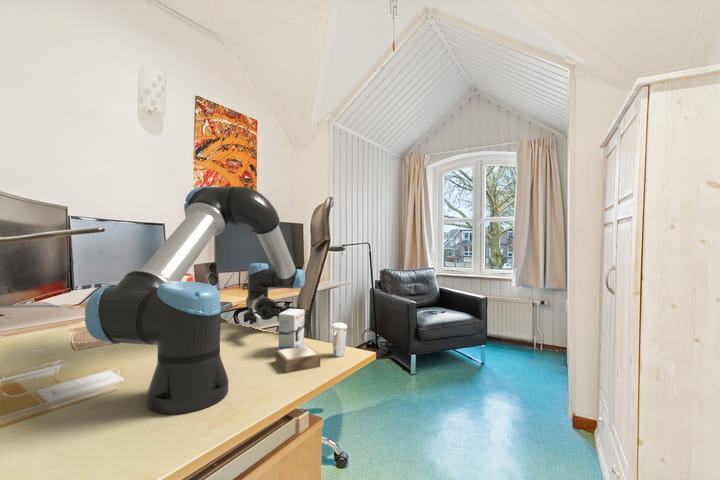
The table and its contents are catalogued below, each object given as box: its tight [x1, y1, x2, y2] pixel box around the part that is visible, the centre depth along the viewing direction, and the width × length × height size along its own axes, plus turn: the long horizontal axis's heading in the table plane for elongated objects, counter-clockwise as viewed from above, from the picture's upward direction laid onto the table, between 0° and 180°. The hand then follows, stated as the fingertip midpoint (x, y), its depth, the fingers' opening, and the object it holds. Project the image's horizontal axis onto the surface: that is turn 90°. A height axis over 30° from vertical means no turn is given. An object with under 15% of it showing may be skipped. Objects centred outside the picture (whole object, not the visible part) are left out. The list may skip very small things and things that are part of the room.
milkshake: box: [330, 322, 350, 358], centre depth 98 cm, size 4×5×10 cm
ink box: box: [278, 308, 305, 350], centre depth 101 cm, size 8×5×12 cm, turn 168°
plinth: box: [275, 345, 321, 374], centre depth 91 cm, size 9×9×3 cm
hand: (282, 319), depth 109 cm, fingers open, 13 cm apart
